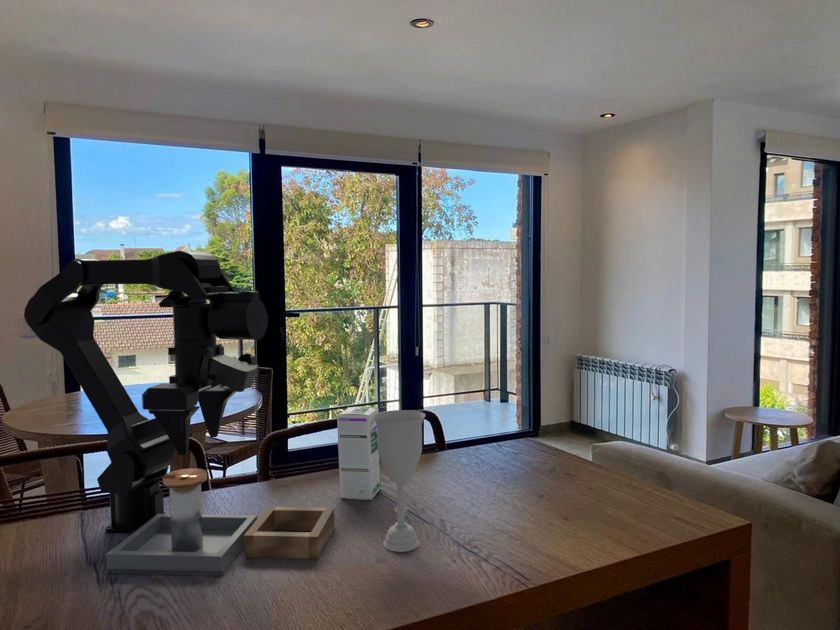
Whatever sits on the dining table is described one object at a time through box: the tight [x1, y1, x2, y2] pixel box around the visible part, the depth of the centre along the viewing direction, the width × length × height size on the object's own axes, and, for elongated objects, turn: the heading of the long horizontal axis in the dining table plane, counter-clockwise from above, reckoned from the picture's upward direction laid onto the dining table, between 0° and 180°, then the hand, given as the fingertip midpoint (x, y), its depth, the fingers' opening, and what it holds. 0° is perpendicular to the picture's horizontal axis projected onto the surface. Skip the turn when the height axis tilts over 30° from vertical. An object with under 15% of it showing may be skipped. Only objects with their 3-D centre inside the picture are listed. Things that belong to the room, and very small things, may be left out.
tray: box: [105, 513, 258, 577], centre depth 82 cm, size 15×13×2 cm
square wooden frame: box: [243, 506, 336, 560], centre depth 85 cm, size 10×10×3 cm
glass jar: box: [161, 467, 208, 552], centre depth 82 cm, size 6×6×10 cm
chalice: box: [373, 409, 426, 553], centre depth 83 cm, size 7×7×18 cm
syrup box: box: [336, 406, 382, 501], centre depth 103 cm, size 6×6×14 cm
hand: (199, 445), depth 88 cm, fingers open, 9 cm apart
